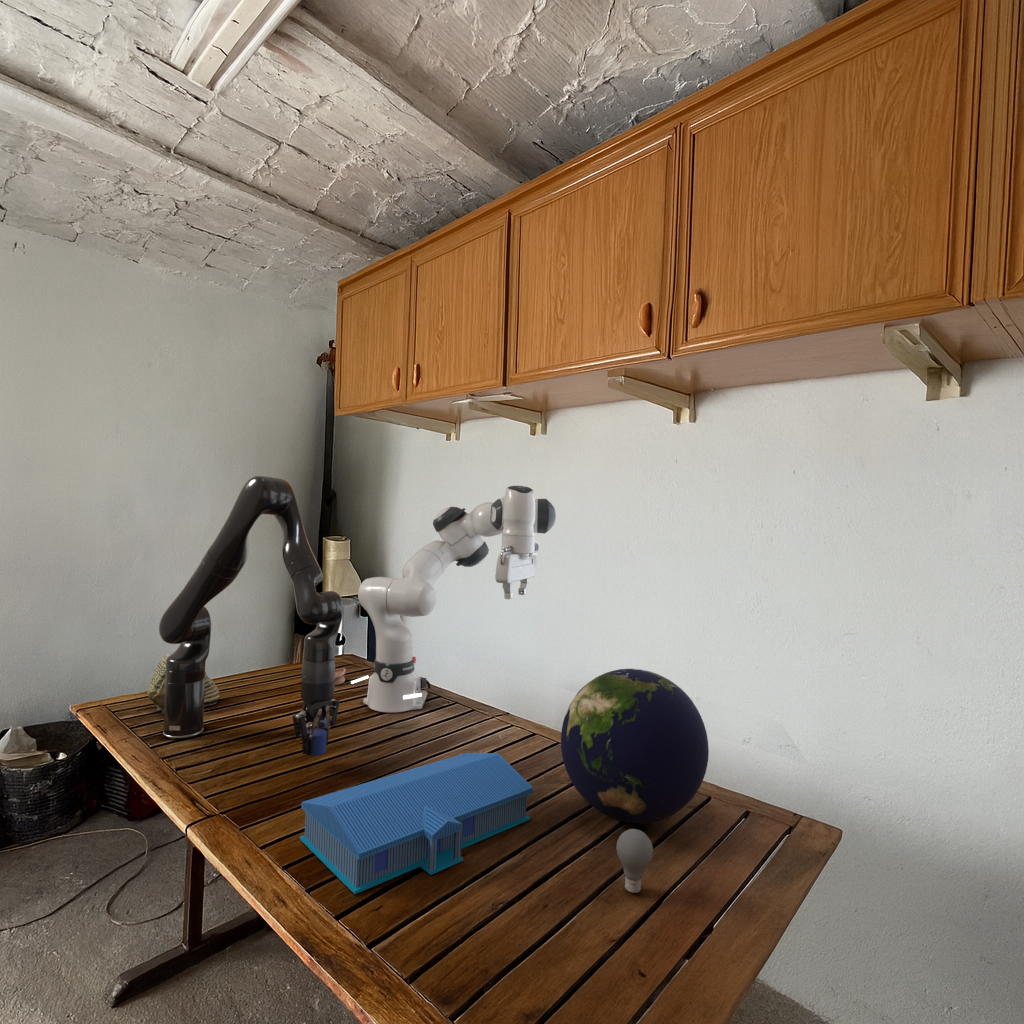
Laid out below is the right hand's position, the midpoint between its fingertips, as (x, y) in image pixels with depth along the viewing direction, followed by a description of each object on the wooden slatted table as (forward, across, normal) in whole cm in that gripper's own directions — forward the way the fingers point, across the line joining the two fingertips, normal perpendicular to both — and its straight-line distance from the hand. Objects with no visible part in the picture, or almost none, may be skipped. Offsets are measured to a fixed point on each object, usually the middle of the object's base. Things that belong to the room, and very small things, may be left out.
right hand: (515, 596), depth 171 cm
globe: (+38, -27, -40) cm, 61 cm away
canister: (+35, -40, +32) cm, 62 cm away
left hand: (+34, -40, +32) cm, 62 cm away
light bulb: (+38, -52, -46) cm, 80 cm away
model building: (+38, -53, -6) cm, 66 cm away
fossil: (+38, -27, +92) cm, 104 cm away
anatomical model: (+38, +13, +75) cm, 85 cm away
